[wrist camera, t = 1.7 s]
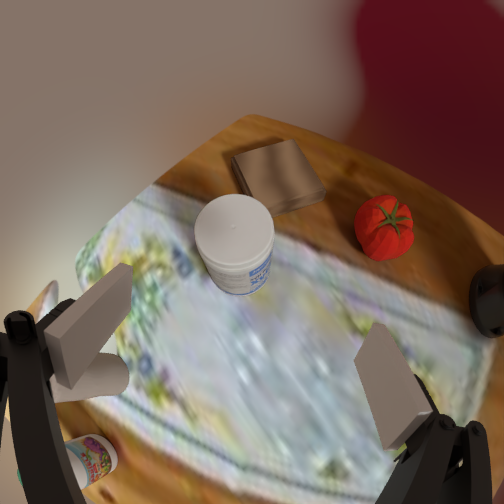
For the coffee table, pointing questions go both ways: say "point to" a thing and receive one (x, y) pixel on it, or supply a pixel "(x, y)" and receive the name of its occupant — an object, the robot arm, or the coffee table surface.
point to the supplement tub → (236, 243)
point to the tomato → (384, 228)
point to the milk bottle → (90, 458)
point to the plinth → (278, 177)
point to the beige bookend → (95, 380)
